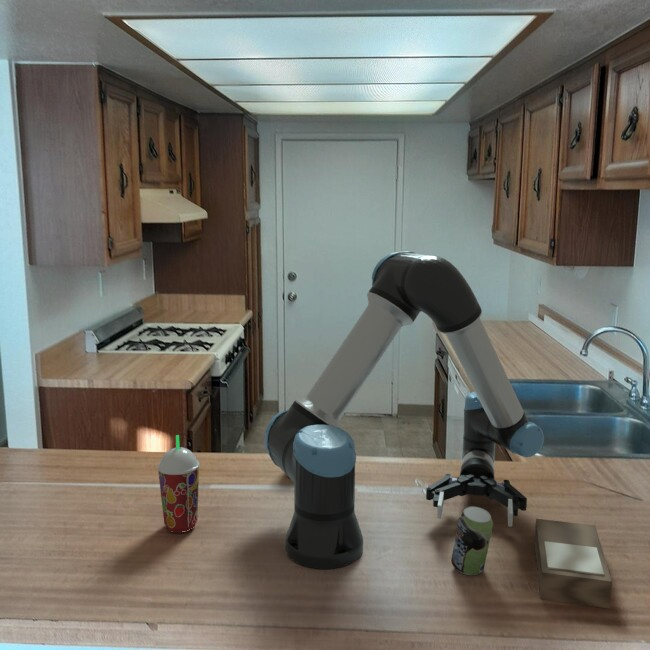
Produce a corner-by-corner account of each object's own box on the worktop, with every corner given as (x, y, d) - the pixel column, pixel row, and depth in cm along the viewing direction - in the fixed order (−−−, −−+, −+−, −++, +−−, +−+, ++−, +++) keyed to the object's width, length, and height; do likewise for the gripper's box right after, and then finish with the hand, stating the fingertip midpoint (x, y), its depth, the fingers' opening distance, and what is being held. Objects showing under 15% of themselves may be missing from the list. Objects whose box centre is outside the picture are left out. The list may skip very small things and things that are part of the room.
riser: (540, 599, 115) (542, 570, 114) (534, 541, 134) (536, 517, 133) (609, 608, 112) (612, 579, 111) (593, 548, 131) (595, 523, 130)
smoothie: (209, 526, 140) (206, 435, 136) (176, 541, 134) (171, 446, 130) (185, 513, 145) (182, 425, 142) (152, 527, 139) (148, 435, 136)
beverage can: (460, 557, 128) (463, 498, 126) (496, 570, 124) (499, 510, 121) (444, 571, 123) (446, 510, 121) (480, 585, 119) (484, 522, 116)
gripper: (534, 494, 149) (540, 541, 129) (421, 483, 155) (410, 526, 135) (536, 462, 147) (542, 505, 127) (422, 452, 153) (411, 491, 133)
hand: (474, 516), depth 131 cm, fingers open, 13 cm apart
